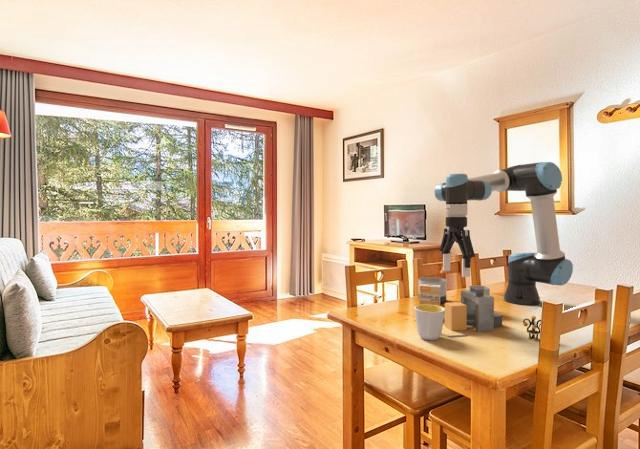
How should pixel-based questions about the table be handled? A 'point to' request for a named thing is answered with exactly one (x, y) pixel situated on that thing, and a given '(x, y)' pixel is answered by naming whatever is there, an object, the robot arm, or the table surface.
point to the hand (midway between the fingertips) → (455, 273)
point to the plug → (462, 317)
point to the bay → (457, 335)
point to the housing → (479, 308)
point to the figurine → (534, 326)
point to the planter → (435, 282)
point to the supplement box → (429, 294)
